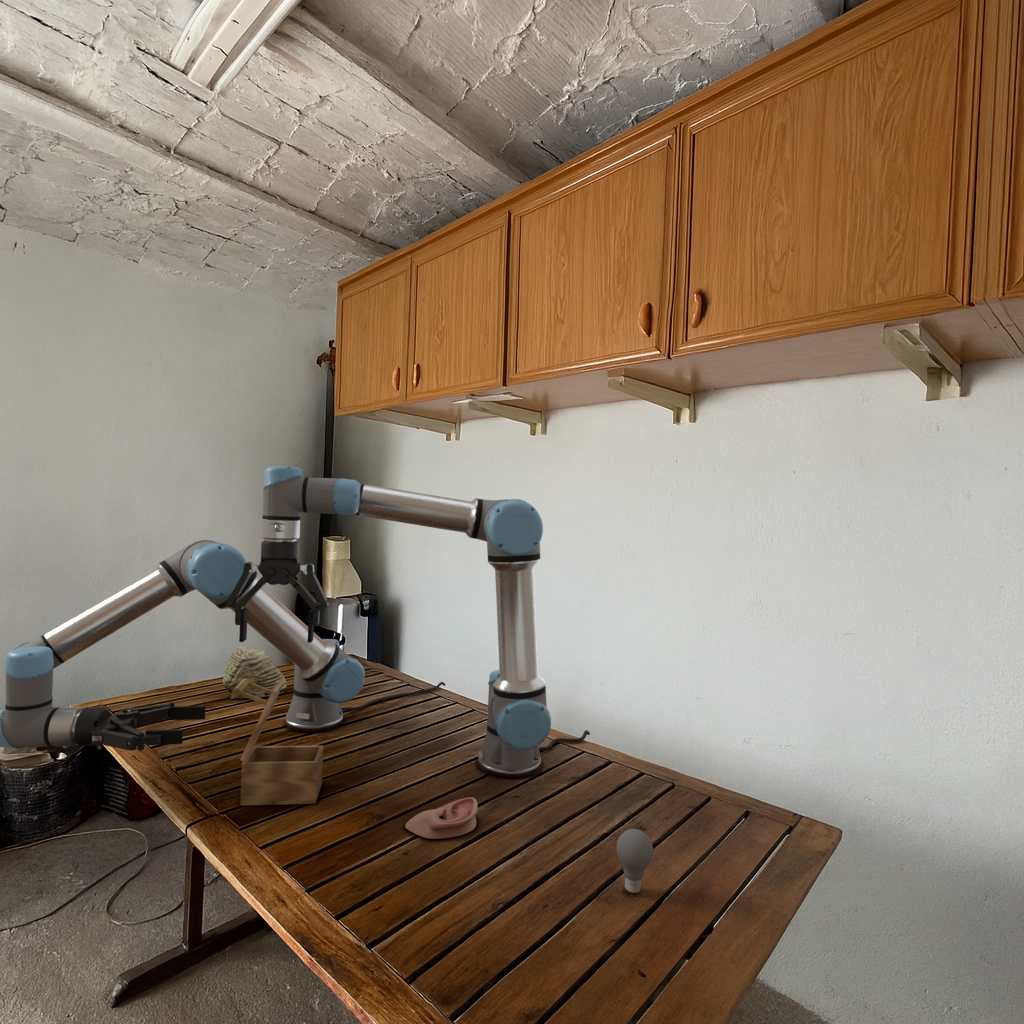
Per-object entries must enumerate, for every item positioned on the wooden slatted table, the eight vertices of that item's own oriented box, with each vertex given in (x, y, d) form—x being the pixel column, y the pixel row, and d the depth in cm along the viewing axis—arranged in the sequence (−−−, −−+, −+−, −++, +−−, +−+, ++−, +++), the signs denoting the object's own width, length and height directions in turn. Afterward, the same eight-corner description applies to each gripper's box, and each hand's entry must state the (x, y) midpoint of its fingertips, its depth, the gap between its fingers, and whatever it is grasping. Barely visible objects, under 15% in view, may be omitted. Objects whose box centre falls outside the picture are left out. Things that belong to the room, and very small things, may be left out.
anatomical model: (399, 813, 120) (420, 787, 131) (398, 834, 120) (419, 806, 131) (467, 823, 117) (482, 796, 128) (466, 845, 117) (481, 815, 128)
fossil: (218, 695, 195) (220, 647, 195) (278, 685, 208) (279, 640, 207) (228, 703, 189) (230, 653, 188) (289, 692, 201) (290, 645, 201)
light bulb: (610, 879, 108) (613, 822, 108) (644, 879, 109) (647, 822, 109) (619, 902, 102) (622, 840, 102) (655, 901, 103) (658, 840, 103)
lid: (285, 679, 138) (249, 665, 137) (276, 692, 129) (238, 677, 128) (255, 744, 137) (219, 731, 136) (244, 761, 128) (205, 747, 127)
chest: (321, 784, 140) (323, 745, 139) (315, 803, 131) (317, 762, 131) (251, 785, 137) (253, 746, 137) (240, 805, 128) (241, 763, 128)
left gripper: (111, 722, 140) (212, 720, 143) (46, 771, 115) (170, 768, 119) (111, 688, 140) (213, 687, 143) (46, 731, 115) (171, 728, 118)
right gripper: (211, 539, 127) (208, 644, 127) (339, 543, 131) (335, 645, 131) (223, 536, 134) (219, 636, 135) (343, 540, 138) (340, 637, 139)
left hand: (194, 724), depth 131 cm, fingers open, 13 cm apart
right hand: (276, 641), depth 133 cm, fingers open, 13 cm apart
